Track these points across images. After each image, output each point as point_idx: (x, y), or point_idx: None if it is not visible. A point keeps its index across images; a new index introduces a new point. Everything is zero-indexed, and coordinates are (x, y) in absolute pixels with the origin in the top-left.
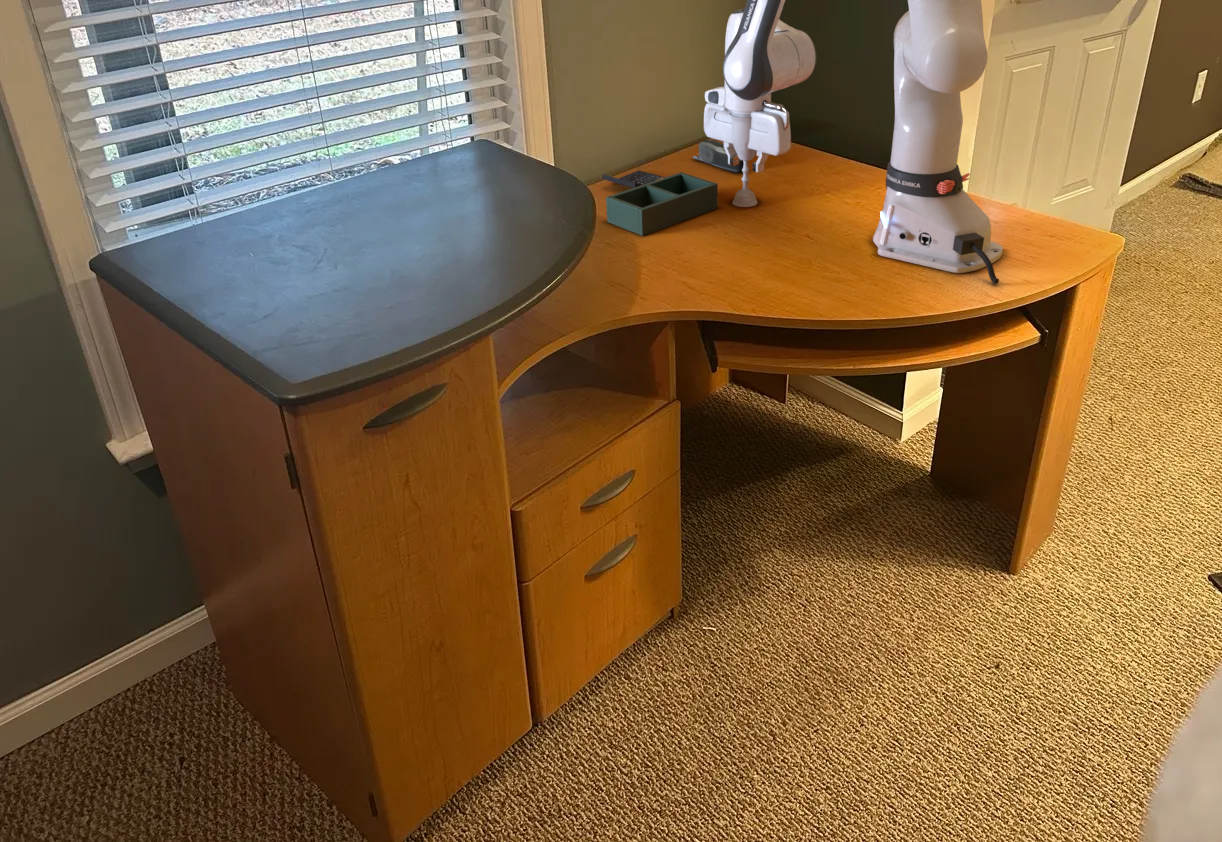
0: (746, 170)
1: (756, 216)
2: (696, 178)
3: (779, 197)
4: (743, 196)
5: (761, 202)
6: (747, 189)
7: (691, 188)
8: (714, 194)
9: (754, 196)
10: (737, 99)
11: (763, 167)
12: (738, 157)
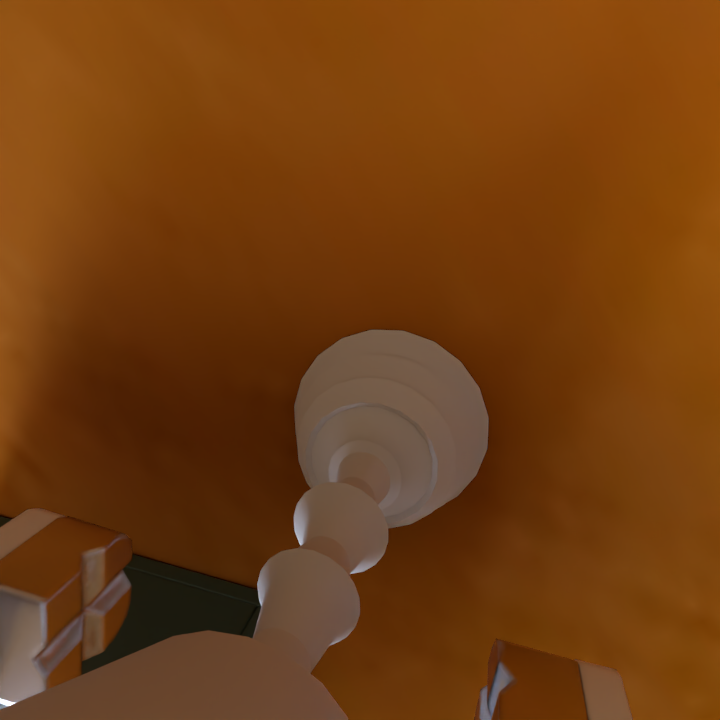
0: (339, 636)
1: (623, 624)
2: (2, 708)
3: (579, 156)
4: (402, 522)
5: (498, 354)
6: (392, 485)
7: None
8: None
9: (452, 419)
10: None
11: (624, 715)
12: (64, 599)
